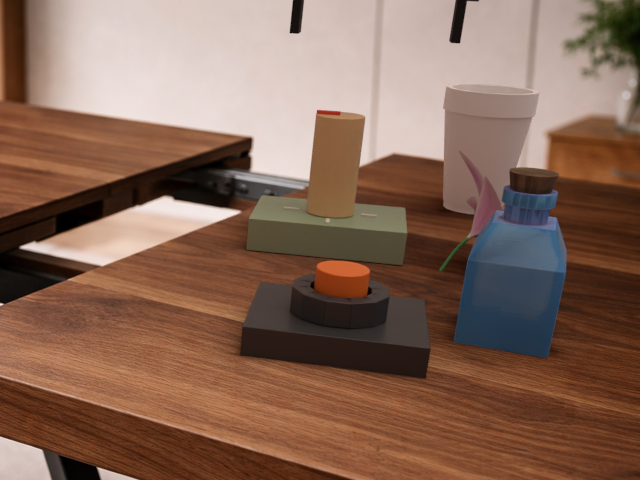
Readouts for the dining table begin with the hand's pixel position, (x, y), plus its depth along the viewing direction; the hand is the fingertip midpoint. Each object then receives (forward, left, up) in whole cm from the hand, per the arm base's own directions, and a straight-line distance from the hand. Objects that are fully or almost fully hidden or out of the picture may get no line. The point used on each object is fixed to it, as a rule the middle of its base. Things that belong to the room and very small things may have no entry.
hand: (373, 37), depth 83 cm
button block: (0, +26, -19) cm, 32 cm away
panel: (+2, 0, -19) cm, 19 cm away
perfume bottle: (-12, +21, -19) cm, 31 cm away
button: (0, +26, -15) cm, 30 cm away
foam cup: (-13, -21, -19) cm, 31 cm away
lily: (-12, +4, -19) cm, 23 cm away
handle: (+2, 0, -16) cm, 16 cm away
